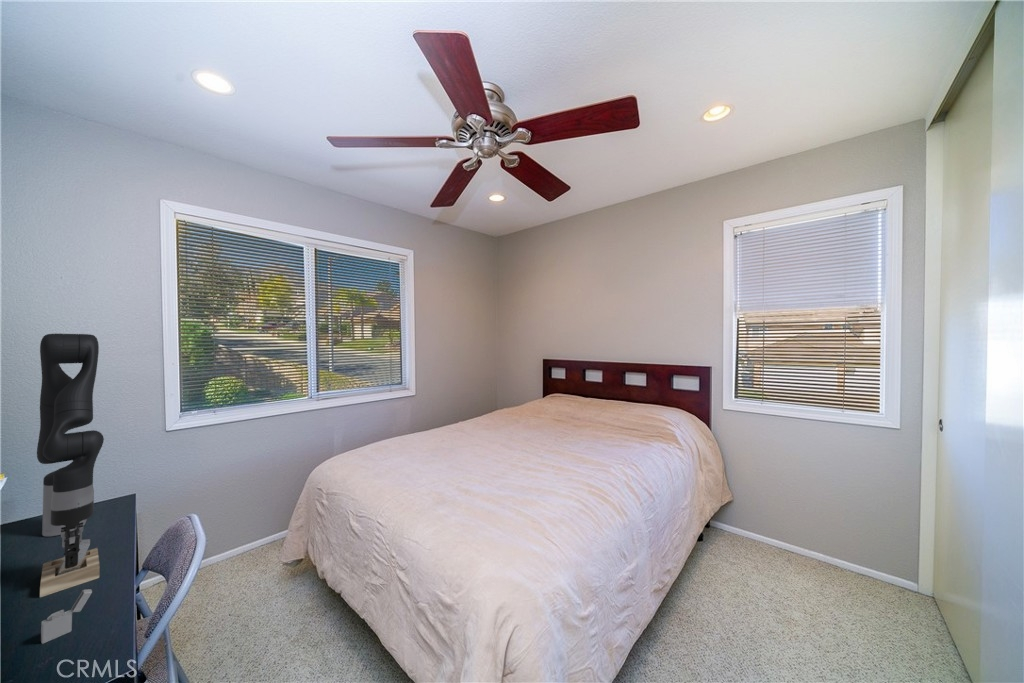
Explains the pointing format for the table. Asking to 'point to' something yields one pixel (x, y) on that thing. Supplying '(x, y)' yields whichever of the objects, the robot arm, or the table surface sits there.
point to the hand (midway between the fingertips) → (71, 563)
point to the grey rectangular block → (83, 549)
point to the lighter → (62, 619)
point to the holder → (69, 574)
